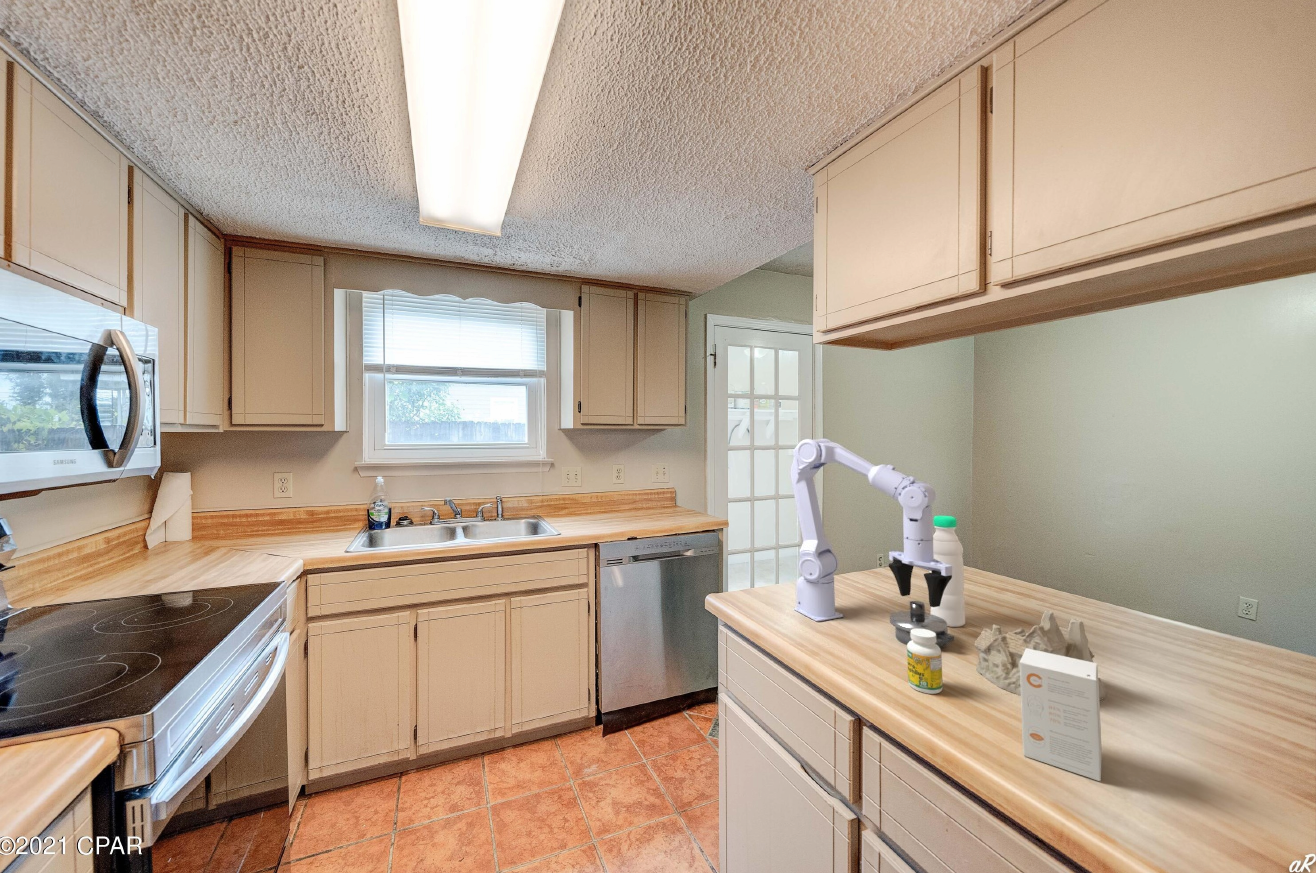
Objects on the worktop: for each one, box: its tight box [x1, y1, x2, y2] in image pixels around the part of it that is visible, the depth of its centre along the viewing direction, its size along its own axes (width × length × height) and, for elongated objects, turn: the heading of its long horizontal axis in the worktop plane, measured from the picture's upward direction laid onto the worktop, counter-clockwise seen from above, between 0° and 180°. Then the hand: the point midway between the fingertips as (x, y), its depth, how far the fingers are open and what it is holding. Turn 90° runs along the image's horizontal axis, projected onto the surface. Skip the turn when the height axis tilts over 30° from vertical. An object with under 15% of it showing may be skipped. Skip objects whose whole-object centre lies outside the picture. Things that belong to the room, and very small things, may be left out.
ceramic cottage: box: [973, 610, 1107, 701], centre depth 87 cm, size 16×16×15 cm
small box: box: [1019, 648, 1103, 782], centre depth 67 cm, size 8×6×13 cm
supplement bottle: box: [906, 629, 944, 695], centre depth 86 cm, size 5×5×10 cm
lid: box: [889, 600, 948, 634], centre depth 105 cm, size 11×11×5 cm
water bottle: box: [928, 515, 966, 628], centre depth 115 cm, size 7×7×25 cm
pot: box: [894, 626, 955, 650], centre depth 105 cm, size 14×10×4 cm
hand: (919, 600), depth 106 cm, fingers open, 7 cm apart
